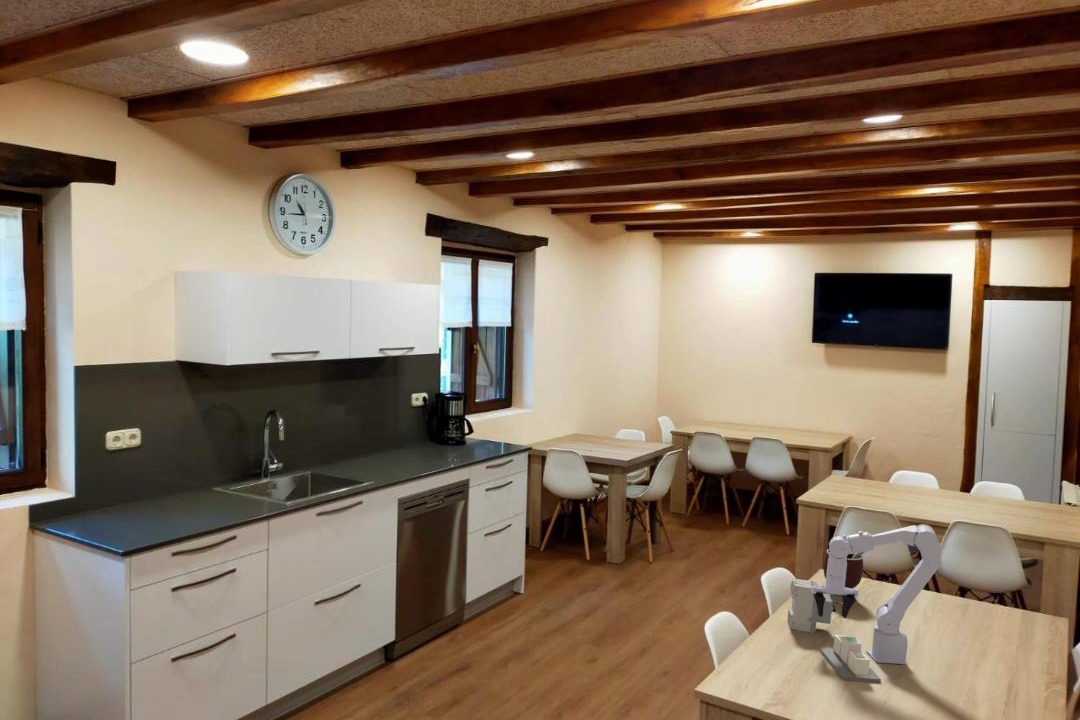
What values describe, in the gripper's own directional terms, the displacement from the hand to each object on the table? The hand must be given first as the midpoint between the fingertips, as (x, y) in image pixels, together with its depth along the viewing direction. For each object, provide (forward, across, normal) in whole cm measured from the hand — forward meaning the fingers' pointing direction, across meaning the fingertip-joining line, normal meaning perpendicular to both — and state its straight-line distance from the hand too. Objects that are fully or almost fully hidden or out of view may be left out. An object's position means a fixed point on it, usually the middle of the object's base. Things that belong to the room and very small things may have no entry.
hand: (831, 616), depth 248 cm
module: (+8, -1, +14) cm, 16 cm away
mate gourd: (+10, -22, -45) cm, 51 cm away
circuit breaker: (+10, +1, -14) cm, 17 cm away
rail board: (+10, -1, +14) cm, 17 cm away
